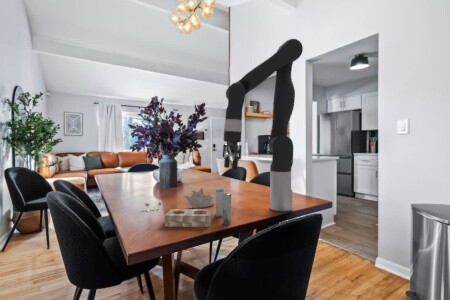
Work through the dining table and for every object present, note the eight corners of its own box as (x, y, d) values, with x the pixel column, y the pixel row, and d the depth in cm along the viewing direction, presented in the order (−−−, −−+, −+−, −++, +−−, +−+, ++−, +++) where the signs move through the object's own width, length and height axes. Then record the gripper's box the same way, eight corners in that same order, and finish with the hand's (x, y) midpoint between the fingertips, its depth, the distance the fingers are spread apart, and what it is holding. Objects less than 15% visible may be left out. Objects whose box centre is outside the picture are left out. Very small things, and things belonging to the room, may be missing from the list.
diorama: (142, 214, 101) (142, 205, 101) (145, 199, 127) (145, 193, 127) (164, 212, 104) (164, 204, 104) (163, 198, 130) (163, 192, 130)
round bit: (231, 221, 90) (231, 193, 90) (231, 224, 87) (231, 194, 86) (222, 221, 90) (222, 193, 90) (222, 224, 87) (222, 194, 87)
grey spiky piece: (211, 207, 107) (203, 186, 108) (191, 215, 109) (182, 195, 110) (218, 200, 120) (210, 181, 120) (199, 207, 122) (192, 189, 122)
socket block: (211, 219, 93) (211, 209, 92) (209, 226, 85) (209, 215, 84) (170, 219, 93) (170, 209, 93) (165, 226, 85) (165, 215, 85)
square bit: (224, 214, 100) (224, 188, 100) (223, 216, 97) (223, 189, 97) (216, 213, 100) (216, 188, 100) (215, 216, 97) (215, 189, 97)
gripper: (248, 131, 96) (245, 170, 97) (234, 132, 110) (231, 167, 110) (231, 129, 94) (228, 170, 94) (218, 130, 107) (216, 166, 107)
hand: (230, 168), depth 102 cm, fingers open, 8 cm apart
